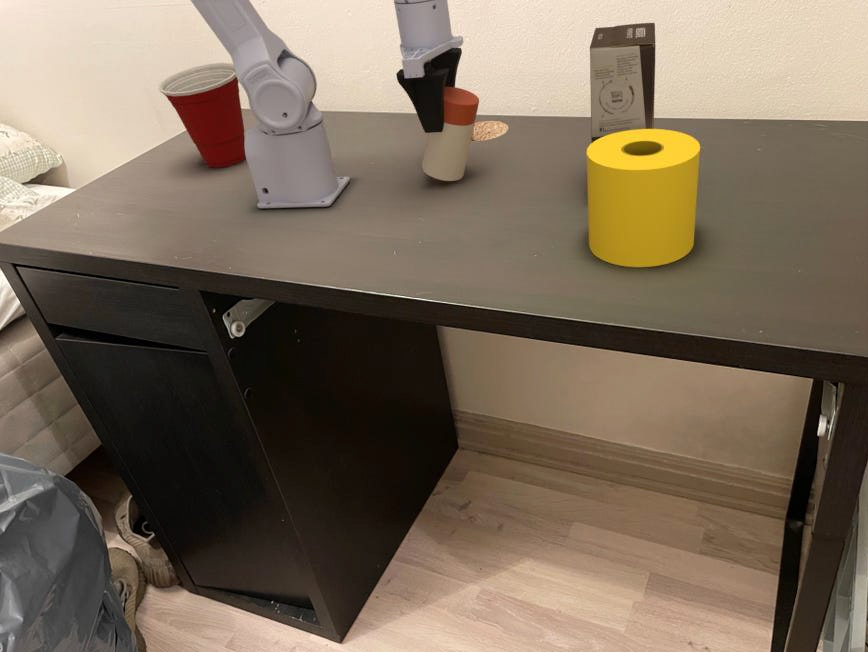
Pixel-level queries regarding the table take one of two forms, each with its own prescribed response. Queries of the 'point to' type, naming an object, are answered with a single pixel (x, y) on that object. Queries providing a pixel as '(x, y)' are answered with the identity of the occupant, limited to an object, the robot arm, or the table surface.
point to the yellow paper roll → (642, 196)
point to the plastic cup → (209, 111)
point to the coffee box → (622, 79)
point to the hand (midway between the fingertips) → (439, 123)
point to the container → (451, 136)
